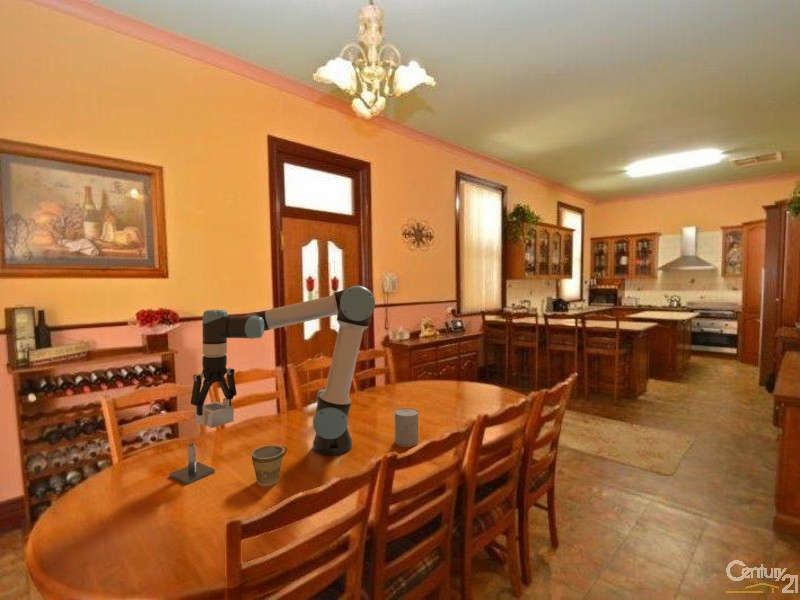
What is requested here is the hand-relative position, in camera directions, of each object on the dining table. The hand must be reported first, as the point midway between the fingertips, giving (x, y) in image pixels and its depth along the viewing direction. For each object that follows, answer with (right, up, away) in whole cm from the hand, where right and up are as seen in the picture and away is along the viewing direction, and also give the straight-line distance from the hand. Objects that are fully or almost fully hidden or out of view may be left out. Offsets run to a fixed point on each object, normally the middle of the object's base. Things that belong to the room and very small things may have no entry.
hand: (214, 420), depth 137 cm
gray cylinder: (+67, -16, +25) cm, 73 cm away
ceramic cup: (+22, -18, -6) cm, 29 cm away
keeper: (-6, -17, -2) cm, 19 cm away
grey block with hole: (0, 0, 0) cm, 0 cm away
